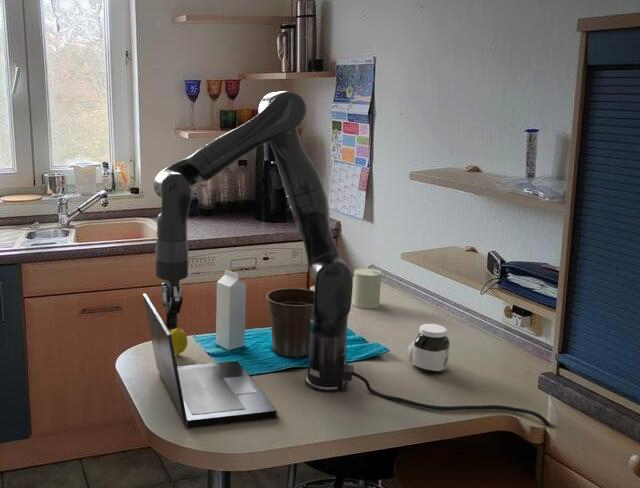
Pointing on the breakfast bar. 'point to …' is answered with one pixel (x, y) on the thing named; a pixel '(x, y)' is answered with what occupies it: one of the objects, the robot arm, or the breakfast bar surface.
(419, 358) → the spread jar
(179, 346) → the lemon
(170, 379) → the laptop screen
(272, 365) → the breakfast bar surface
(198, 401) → the laptop
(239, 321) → the milk
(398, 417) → the breakfast bar surface
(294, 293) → the plant pot
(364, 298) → the can
